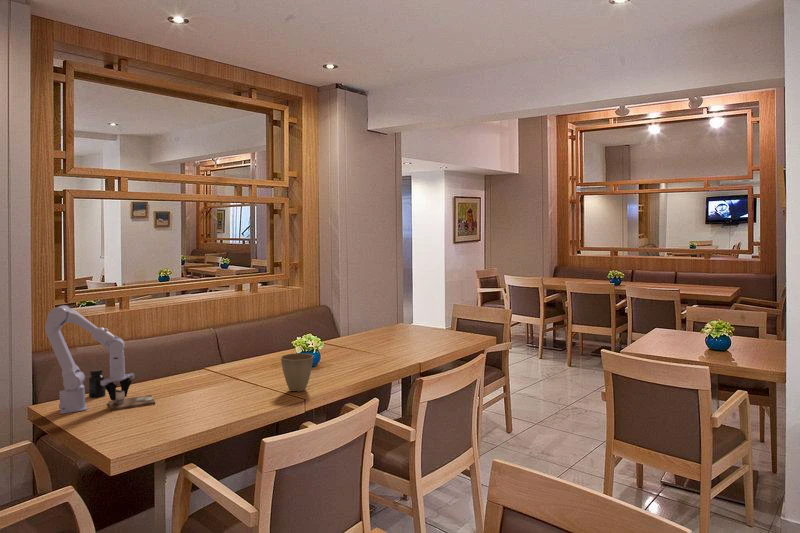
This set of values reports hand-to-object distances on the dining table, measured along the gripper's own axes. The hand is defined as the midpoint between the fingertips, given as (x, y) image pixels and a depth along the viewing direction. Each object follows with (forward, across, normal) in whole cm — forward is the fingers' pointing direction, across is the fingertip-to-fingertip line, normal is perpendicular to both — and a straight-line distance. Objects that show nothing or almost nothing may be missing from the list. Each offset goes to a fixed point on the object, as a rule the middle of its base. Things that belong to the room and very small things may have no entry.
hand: (118, 398), depth 239 cm
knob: (0, 0, 0) cm, 0 cm away
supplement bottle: (+3, +5, +22) cm, 23 cm away
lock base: (+3, +4, -3) cm, 6 cm away
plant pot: (+3, +52, -55) cm, 76 cm away
